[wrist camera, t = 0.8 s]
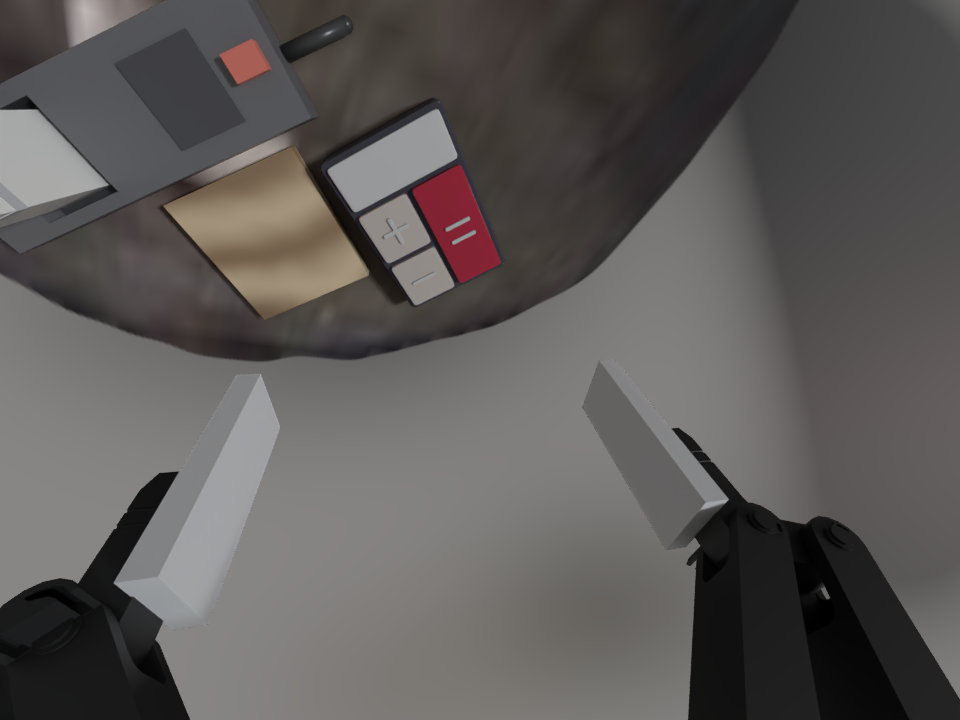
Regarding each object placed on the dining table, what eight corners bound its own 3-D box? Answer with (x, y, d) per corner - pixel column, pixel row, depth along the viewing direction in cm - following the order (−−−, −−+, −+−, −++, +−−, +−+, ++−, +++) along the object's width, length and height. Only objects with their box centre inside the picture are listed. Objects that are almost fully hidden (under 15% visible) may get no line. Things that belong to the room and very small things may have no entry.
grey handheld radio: (50, 242, 30) (11, 257, 27) (-69, 139, 25) (-133, 144, 22) (380, 88, 28) (377, 86, 25) (319, -55, 23) (307, -79, 20)
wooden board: (170, 202, 30) (162, 205, 29) (294, 145, 29) (290, 146, 28) (268, 314, 37) (264, 319, 36) (369, 270, 36) (368, 275, 36)
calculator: (413, 313, 37) (315, 167, 27) (411, 293, 40) (323, 158, 30) (508, 266, 35) (441, 97, 26) (498, 250, 39) (435, 95, 29)
